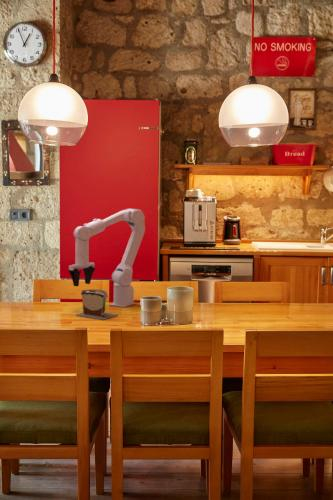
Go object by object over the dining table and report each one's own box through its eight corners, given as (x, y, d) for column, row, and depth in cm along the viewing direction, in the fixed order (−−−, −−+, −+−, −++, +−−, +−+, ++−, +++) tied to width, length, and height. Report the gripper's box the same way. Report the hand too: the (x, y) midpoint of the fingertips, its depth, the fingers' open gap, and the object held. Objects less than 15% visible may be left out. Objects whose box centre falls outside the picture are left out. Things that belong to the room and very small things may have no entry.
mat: (91, 311, 237) (91, 310, 236) (117, 315, 230) (117, 314, 230) (76, 315, 228) (76, 314, 228) (103, 320, 221) (103, 319, 221)
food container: (113, 315, 229) (113, 291, 228) (104, 317, 223) (104, 293, 222) (89, 311, 235) (90, 288, 234) (80, 313, 229) (80, 290, 228)
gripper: (77, 256, 231) (77, 288, 233) (99, 253, 244) (99, 283, 245) (65, 254, 235) (65, 286, 237) (87, 252, 247) (87, 282, 249)
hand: (81, 284), depth 241 cm, fingers open, 7 cm apart
